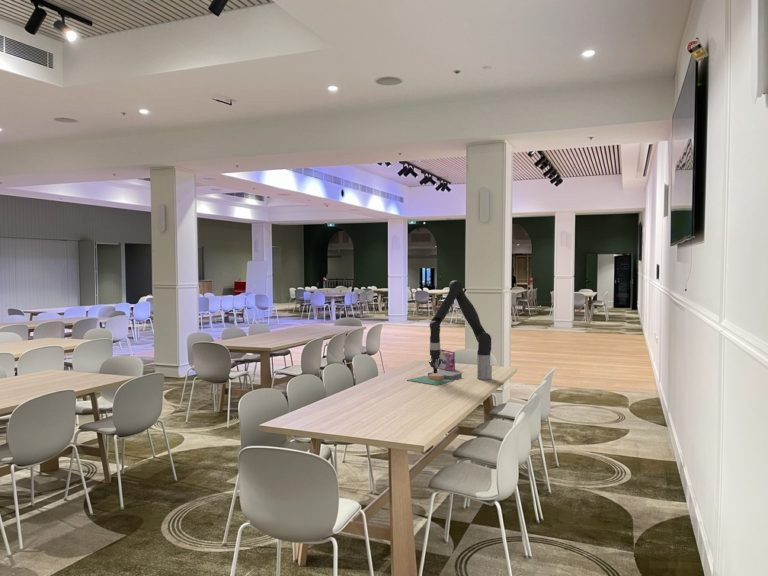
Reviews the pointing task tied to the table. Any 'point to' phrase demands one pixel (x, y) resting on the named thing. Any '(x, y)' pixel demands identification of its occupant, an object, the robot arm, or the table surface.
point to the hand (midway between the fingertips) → (435, 373)
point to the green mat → (429, 380)
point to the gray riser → (448, 374)
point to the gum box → (447, 360)
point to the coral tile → (436, 376)
